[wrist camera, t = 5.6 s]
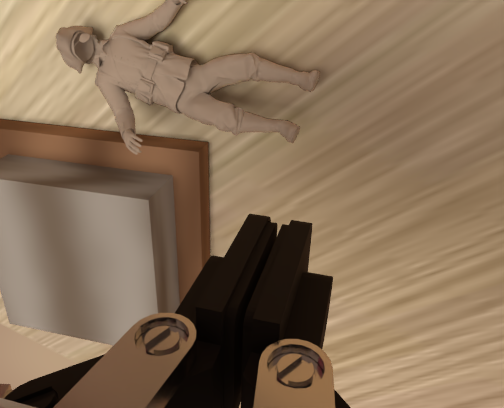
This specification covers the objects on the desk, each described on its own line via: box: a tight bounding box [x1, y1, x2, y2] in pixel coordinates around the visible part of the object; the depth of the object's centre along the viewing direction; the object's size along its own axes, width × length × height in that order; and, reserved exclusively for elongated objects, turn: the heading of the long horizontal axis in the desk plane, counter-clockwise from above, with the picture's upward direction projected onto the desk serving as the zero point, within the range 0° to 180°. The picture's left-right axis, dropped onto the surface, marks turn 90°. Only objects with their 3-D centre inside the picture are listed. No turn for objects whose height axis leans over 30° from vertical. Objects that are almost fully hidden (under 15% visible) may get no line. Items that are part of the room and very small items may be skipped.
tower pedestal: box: [0, 119, 210, 345], centre depth 27 cm, size 13×13×4 cm
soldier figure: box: [56, 0, 320, 155], centre depth 22 cm, size 8×5×12 cm
